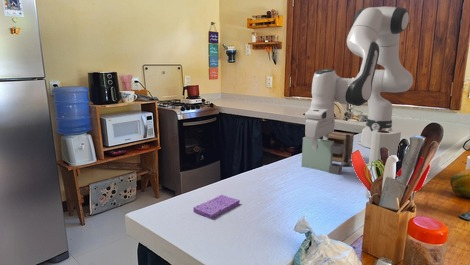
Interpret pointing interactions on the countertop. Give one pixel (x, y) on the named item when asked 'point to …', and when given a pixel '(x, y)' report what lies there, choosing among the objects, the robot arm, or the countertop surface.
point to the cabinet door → (321, 155)
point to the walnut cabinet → (348, 146)
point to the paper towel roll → (383, 145)
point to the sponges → (216, 206)
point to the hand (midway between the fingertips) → (319, 146)
